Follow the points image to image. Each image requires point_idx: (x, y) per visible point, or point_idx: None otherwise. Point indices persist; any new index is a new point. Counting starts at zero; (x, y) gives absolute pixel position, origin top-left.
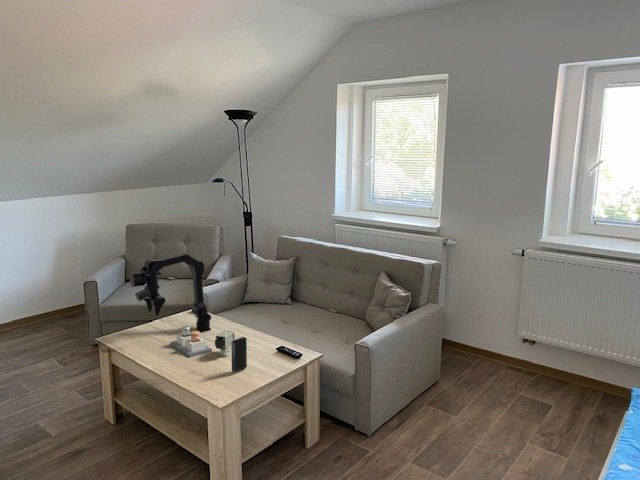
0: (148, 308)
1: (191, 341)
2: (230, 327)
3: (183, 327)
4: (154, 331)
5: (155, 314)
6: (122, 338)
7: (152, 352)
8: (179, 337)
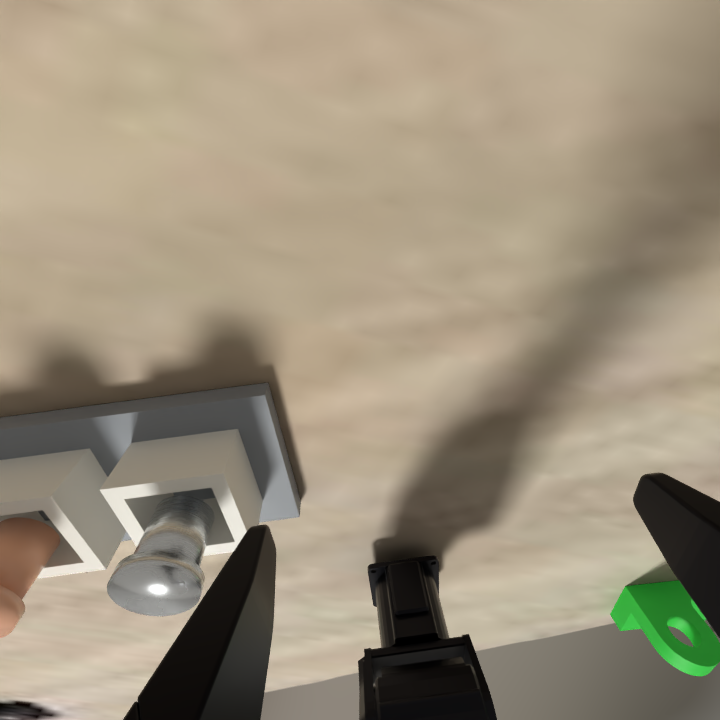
0: (712, 530)
1: (10, 522)
2: None
3: (150, 578)
4: (623, 357)
5: (249, 545)
6: (702, 36)
7: (129, 213)
8: (164, 475)
